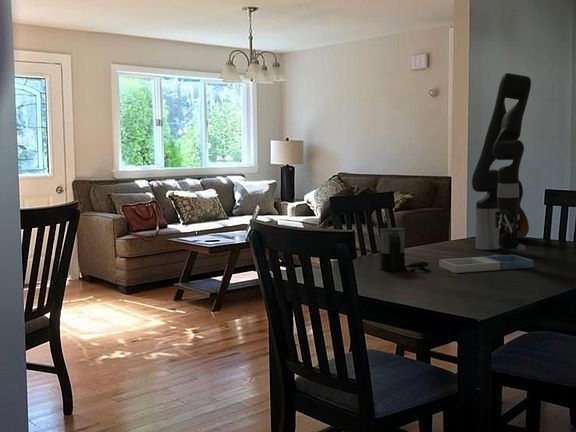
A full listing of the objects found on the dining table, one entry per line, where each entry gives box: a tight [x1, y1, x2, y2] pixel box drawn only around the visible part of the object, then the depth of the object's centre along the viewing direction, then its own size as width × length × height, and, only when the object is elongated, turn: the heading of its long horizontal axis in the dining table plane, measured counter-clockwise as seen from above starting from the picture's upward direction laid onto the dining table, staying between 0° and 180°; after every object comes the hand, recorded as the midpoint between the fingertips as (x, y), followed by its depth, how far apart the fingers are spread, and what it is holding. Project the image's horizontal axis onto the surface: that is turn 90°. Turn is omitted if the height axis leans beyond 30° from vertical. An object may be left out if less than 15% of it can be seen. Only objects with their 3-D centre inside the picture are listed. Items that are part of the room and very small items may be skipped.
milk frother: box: [379, 227, 430, 272], centre depth 235 cm, size 14×16×15 cm
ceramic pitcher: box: [499, 178, 530, 239], centre depth 298 cm, size 20×20×30 cm
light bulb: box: [499, 232, 526, 252], centre depth 236 cm, size 6×6×10 cm
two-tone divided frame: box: [438, 254, 534, 274], centre depth 236 cm, size 17×30×3 cm, turn 102°
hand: (508, 241), depth 237 cm, fingers closed on light bulb, 7 cm apart
